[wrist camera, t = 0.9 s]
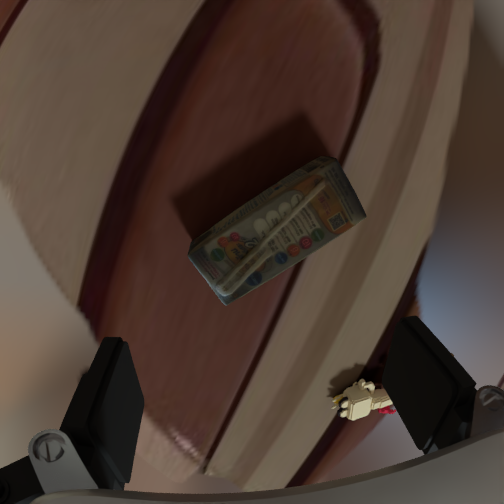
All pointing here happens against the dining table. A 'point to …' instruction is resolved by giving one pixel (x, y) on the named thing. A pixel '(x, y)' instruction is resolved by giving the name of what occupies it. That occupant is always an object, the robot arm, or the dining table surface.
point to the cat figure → (362, 400)
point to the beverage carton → (277, 229)
